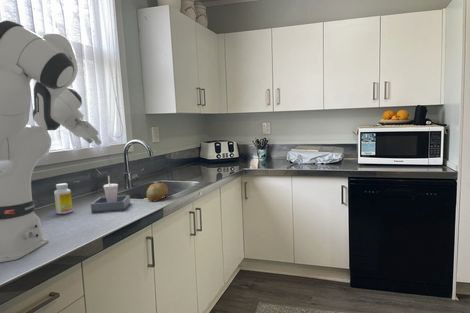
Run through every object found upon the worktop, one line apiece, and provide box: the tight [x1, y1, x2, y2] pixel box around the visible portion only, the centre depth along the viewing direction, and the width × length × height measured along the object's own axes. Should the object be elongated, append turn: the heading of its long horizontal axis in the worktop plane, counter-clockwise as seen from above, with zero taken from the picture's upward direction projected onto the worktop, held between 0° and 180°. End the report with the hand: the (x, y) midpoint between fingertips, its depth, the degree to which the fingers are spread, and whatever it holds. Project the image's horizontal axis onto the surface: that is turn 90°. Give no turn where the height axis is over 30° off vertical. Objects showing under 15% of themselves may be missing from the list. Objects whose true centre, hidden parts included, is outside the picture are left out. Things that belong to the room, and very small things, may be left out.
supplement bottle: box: [53, 182, 74, 215], centre depth 155 cm, size 7×7×13 cm
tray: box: [90, 194, 131, 214], centre depth 159 cm, size 14×14×4 cm
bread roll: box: [146, 182, 169, 202], centre depth 175 cm, size 10×15×8 cm, turn 172°
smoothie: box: [102, 175, 119, 202], centre depth 158 cm, size 6×6×14 cm
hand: (95, 143), depth 151 cm, fingers open, 8 cm apart
